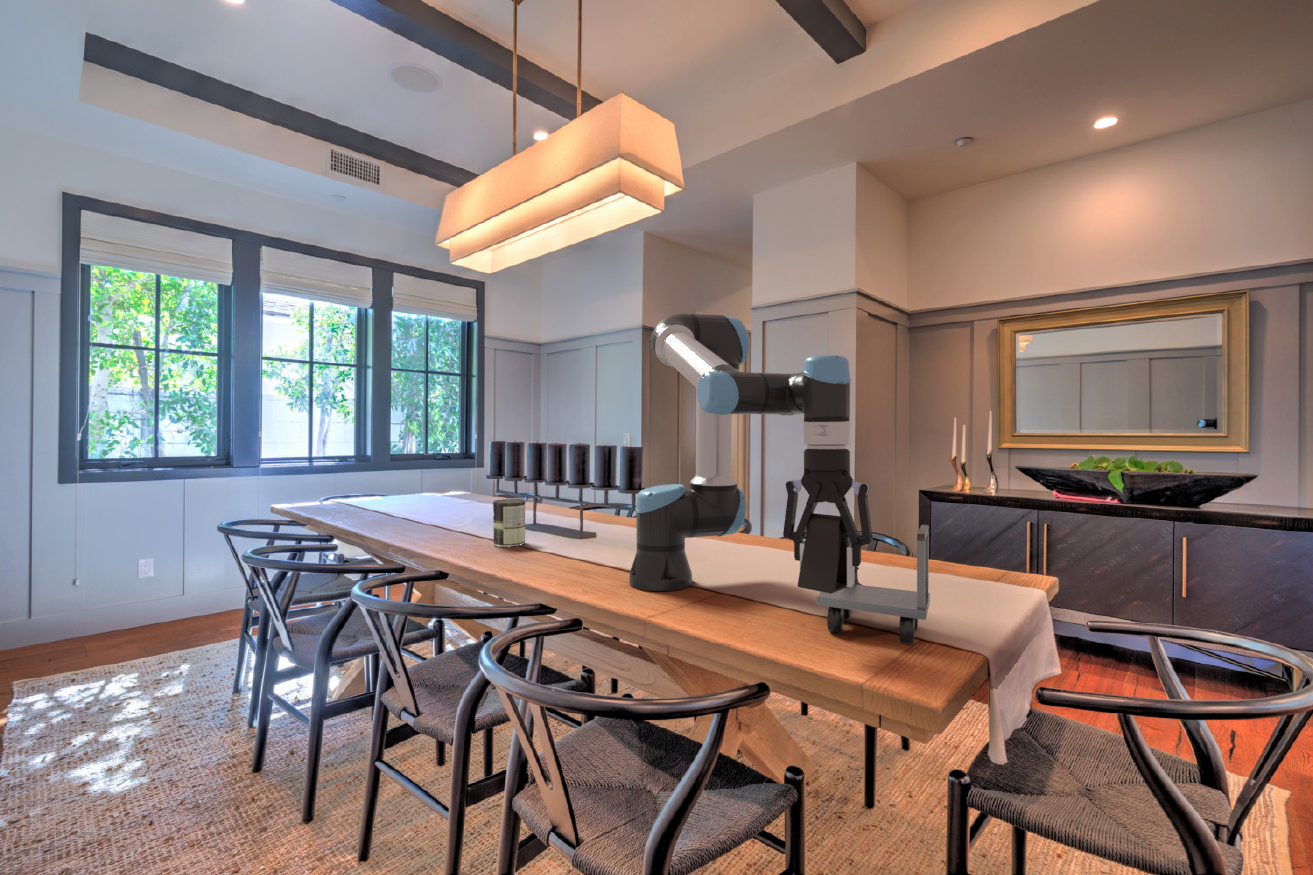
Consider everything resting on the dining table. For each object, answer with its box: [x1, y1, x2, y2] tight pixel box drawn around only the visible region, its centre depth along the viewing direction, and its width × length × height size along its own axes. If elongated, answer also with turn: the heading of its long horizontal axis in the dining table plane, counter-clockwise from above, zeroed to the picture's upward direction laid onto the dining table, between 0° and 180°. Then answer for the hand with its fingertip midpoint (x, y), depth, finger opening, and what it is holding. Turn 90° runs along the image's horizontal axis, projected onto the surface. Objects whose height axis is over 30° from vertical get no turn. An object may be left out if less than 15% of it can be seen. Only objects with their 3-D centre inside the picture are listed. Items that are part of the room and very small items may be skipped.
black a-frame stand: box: [797, 512, 856, 594], centre depth 99 cm, size 9×6×12 cm, turn 135°
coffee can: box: [492, 498, 526, 548], centre depth 189 cm, size 10×10×14 cm
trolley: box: [816, 524, 931, 645], centre depth 107 cm, size 18×13×19 cm
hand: (827, 582), depth 99 cm, fingers closed on black a-frame stand, 7 cm apart
